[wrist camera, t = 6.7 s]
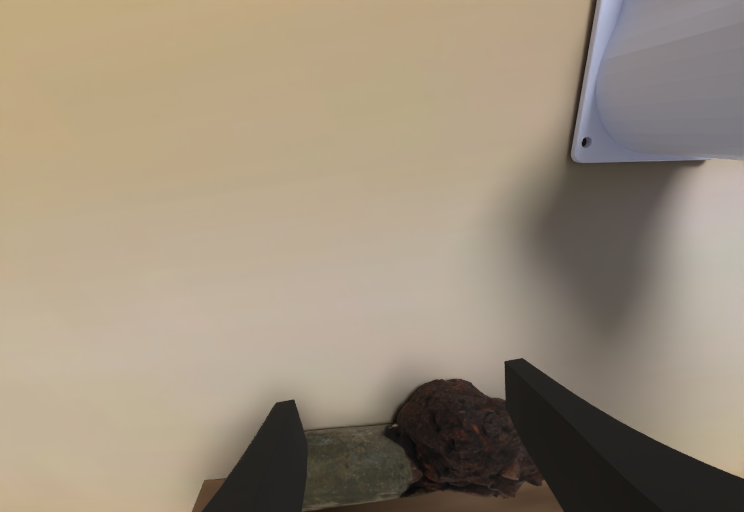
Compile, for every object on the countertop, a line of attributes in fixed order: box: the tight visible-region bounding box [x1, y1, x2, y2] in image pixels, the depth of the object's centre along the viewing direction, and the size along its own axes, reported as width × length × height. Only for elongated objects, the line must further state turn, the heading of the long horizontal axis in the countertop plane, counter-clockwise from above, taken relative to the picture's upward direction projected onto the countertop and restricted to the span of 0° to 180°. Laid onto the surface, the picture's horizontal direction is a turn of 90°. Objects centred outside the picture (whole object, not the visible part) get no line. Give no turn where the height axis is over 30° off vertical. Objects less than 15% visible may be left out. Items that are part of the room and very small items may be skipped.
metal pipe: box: [302, 379, 544, 512], centre depth 21 cm, size 18×7×6 cm, turn 96°
